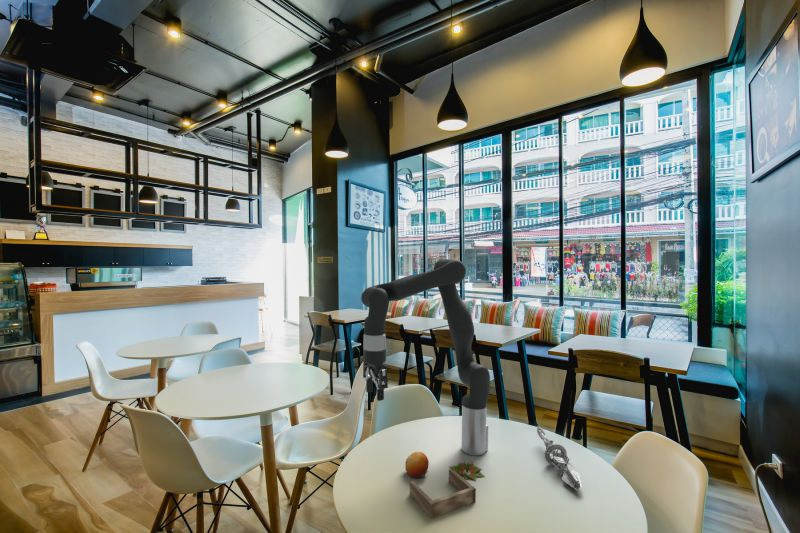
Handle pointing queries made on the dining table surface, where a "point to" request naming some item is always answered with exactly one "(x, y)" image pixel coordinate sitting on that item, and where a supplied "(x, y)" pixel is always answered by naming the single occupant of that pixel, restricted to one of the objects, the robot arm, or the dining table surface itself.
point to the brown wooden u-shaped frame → (447, 502)
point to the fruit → (417, 464)
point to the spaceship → (560, 461)
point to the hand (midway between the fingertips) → (374, 396)
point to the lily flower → (467, 467)
